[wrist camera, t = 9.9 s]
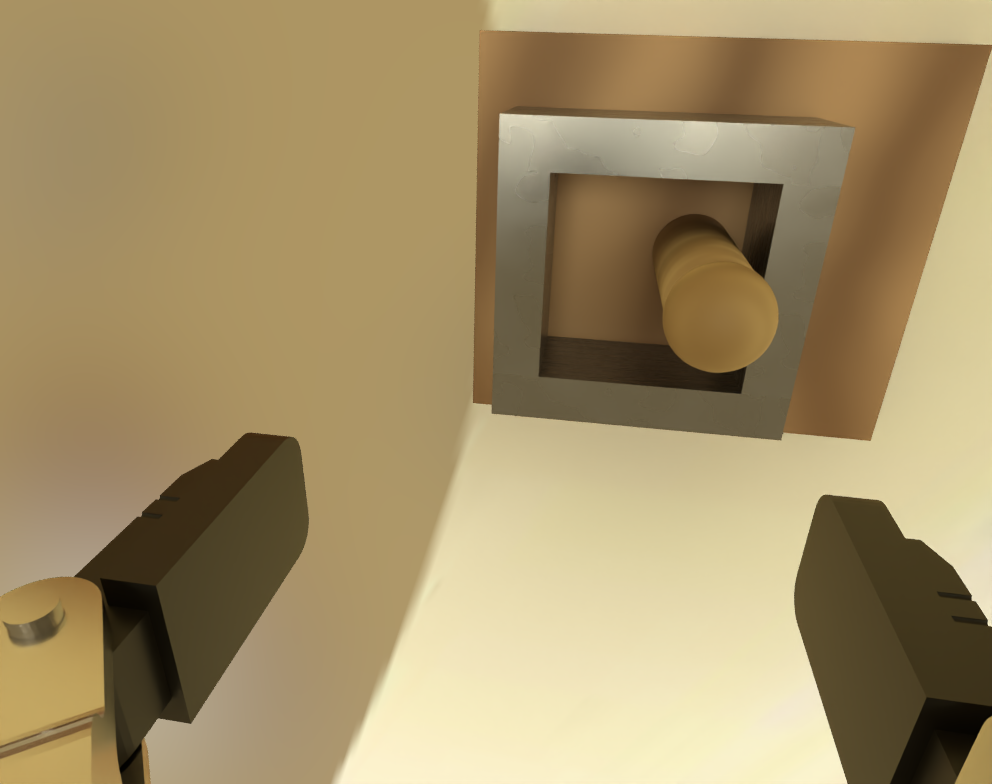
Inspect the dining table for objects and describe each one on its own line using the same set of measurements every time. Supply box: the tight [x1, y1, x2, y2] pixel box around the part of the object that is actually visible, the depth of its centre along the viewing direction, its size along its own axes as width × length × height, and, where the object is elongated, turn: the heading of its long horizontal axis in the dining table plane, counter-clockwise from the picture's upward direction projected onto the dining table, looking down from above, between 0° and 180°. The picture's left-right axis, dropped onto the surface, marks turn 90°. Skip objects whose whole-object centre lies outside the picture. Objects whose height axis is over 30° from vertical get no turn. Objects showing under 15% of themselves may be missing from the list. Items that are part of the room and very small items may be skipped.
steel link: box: [492, 106, 855, 440], centre depth 24 cm, size 10×10×4 cm
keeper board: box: [473, 30, 992, 441], centre depth 22 cm, size 16×14×10 cm
